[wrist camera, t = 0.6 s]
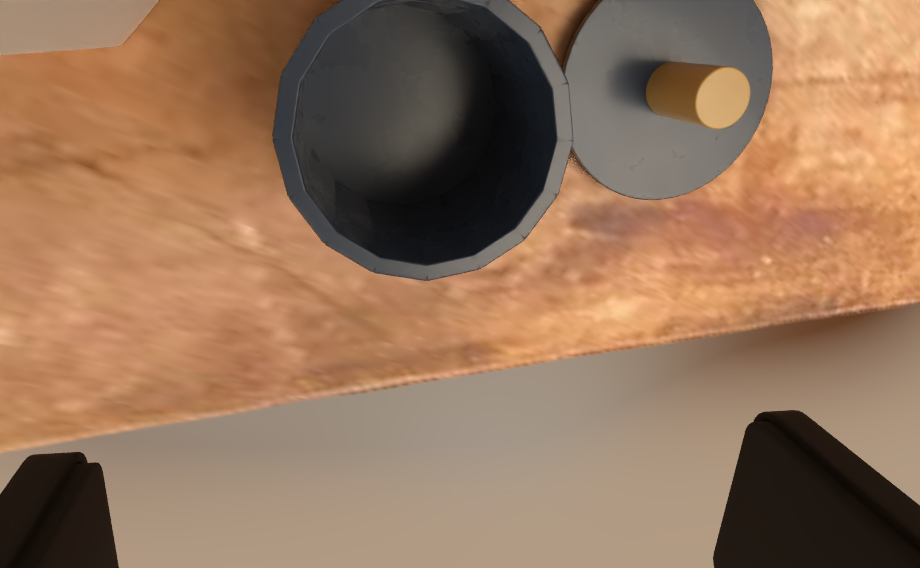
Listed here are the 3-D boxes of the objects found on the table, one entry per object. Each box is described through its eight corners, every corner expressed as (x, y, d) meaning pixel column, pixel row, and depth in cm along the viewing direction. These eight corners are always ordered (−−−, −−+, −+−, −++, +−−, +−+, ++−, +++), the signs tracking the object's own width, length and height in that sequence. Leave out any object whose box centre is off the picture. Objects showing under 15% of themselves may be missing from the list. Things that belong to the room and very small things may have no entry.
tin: (368, -62, 30) (388, -103, 20) (546, 81, 33) (628, 100, 24) (247, 138, 32) (215, 181, 23) (427, 250, 36) (462, 325, 27)
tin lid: (654, -89, 31) (724, -115, 26) (800, 60, 36) (888, 65, 30) (510, 116, 34) (546, 133, 28) (664, 233, 38) (722, 268, 33)
